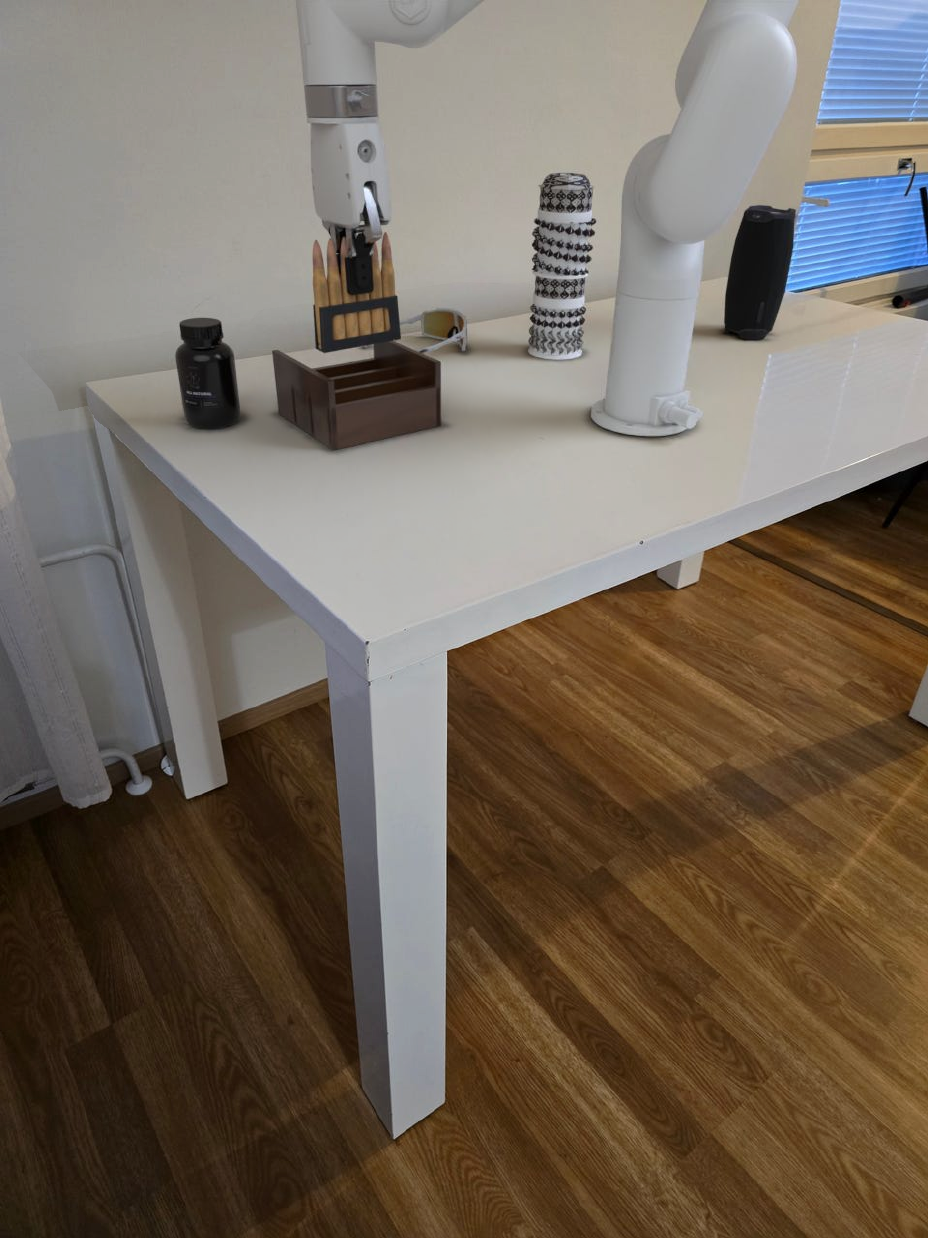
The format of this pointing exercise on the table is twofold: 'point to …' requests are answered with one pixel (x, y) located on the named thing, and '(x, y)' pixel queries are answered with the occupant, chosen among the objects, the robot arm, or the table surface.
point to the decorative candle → (561, 266)
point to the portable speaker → (758, 271)
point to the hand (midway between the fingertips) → (355, 290)
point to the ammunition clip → (353, 302)
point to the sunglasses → (441, 327)
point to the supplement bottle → (207, 375)
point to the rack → (361, 395)
